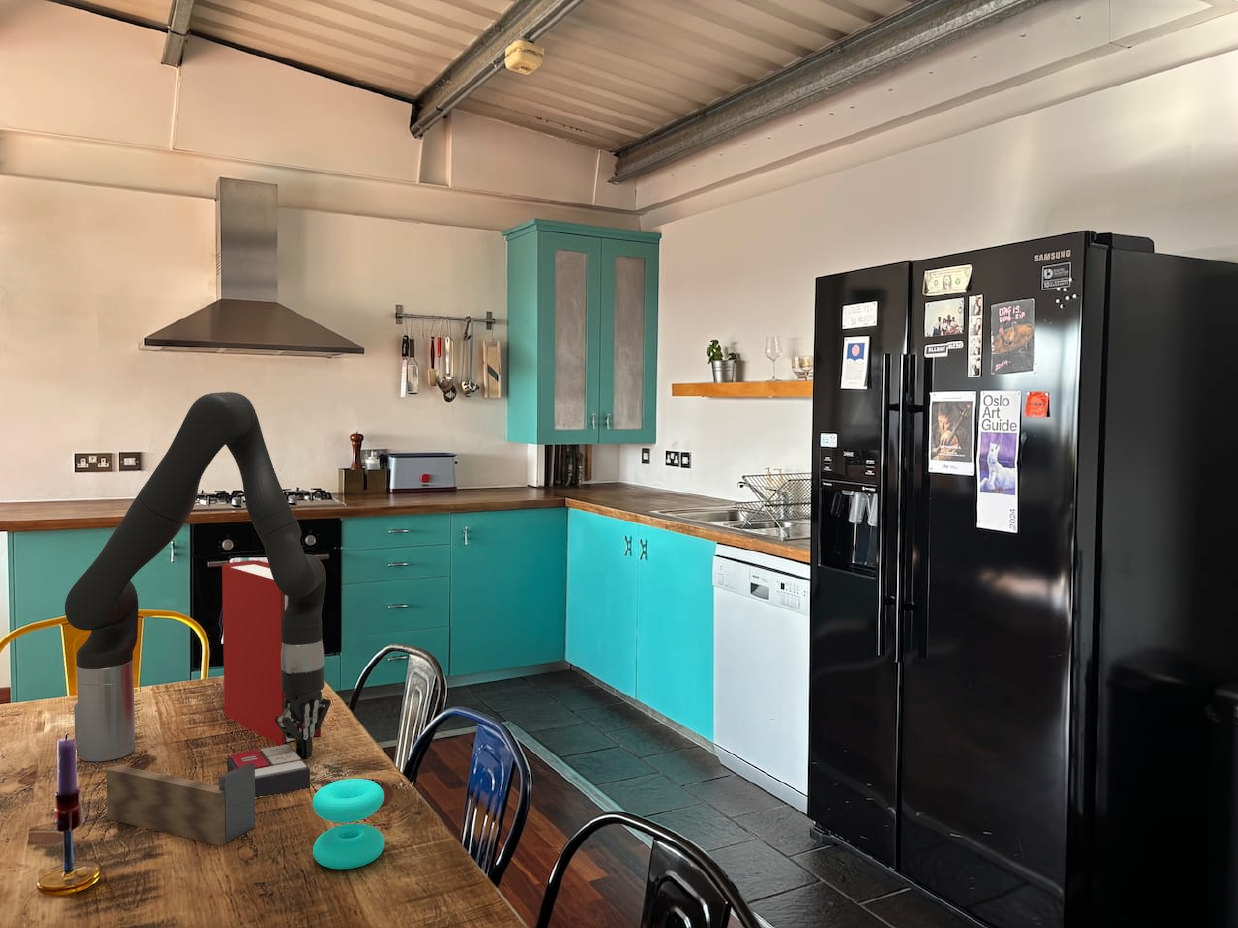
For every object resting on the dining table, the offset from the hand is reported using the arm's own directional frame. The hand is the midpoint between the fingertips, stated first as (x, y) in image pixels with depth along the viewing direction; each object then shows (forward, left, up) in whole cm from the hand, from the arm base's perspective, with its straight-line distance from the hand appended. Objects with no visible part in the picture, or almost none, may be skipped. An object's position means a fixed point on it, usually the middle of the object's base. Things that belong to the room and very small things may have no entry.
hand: (304, 757), depth 173 cm
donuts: (+31, -27, -1) cm, 41 cm away
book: (-20, +13, -1) cm, 24 cm away
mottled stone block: (0, -28, -1) cm, 28 cm away
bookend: (+11, -28, -1) cm, 30 cm away
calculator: (0, -9, -1) cm, 9 cm away
